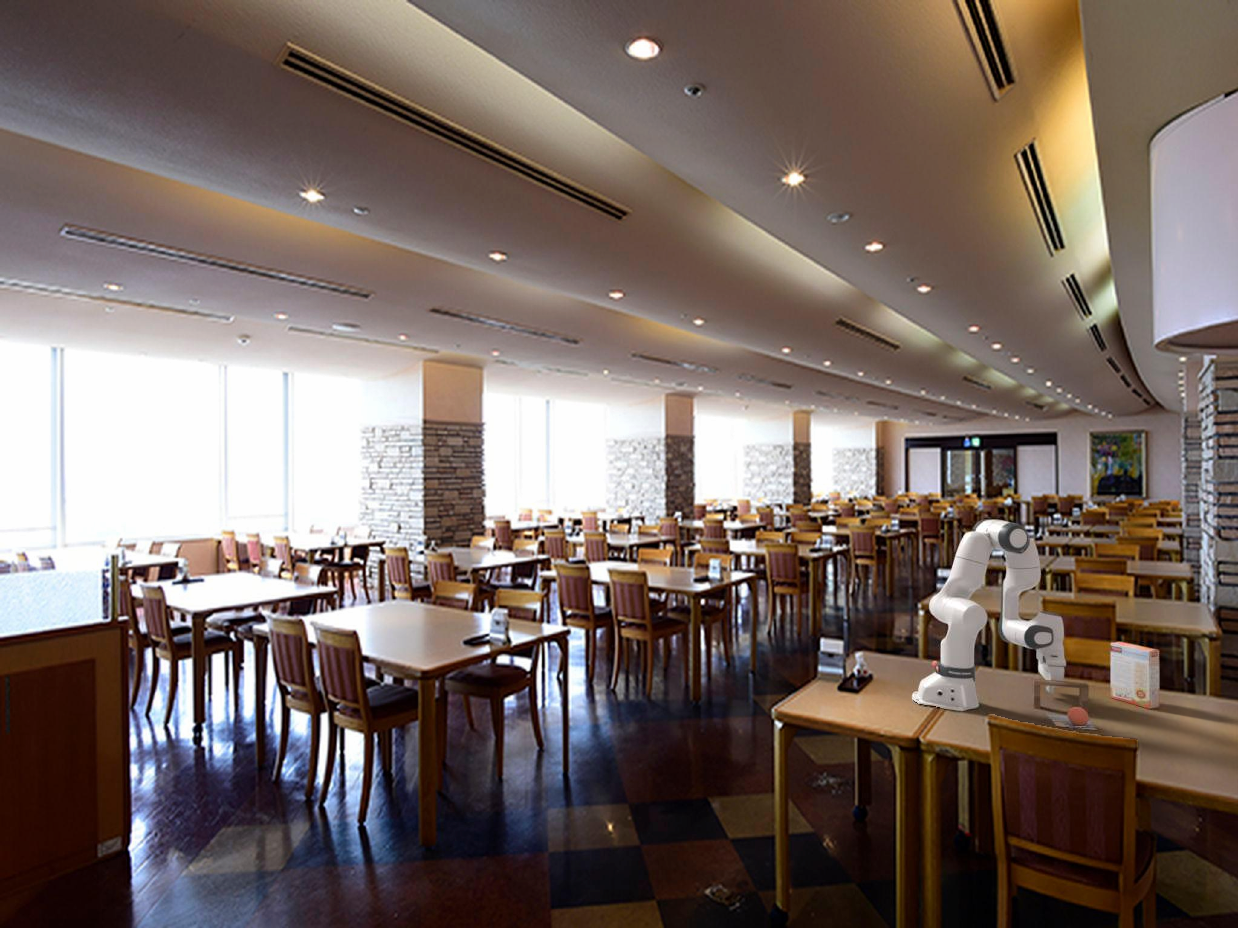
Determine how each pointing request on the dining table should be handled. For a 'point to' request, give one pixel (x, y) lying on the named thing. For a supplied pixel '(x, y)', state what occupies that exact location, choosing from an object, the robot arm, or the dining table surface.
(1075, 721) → the ball
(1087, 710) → the grey rectangular frame
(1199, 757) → the dining table surface
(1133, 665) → the cracker box
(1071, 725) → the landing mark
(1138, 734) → the dining table surface
